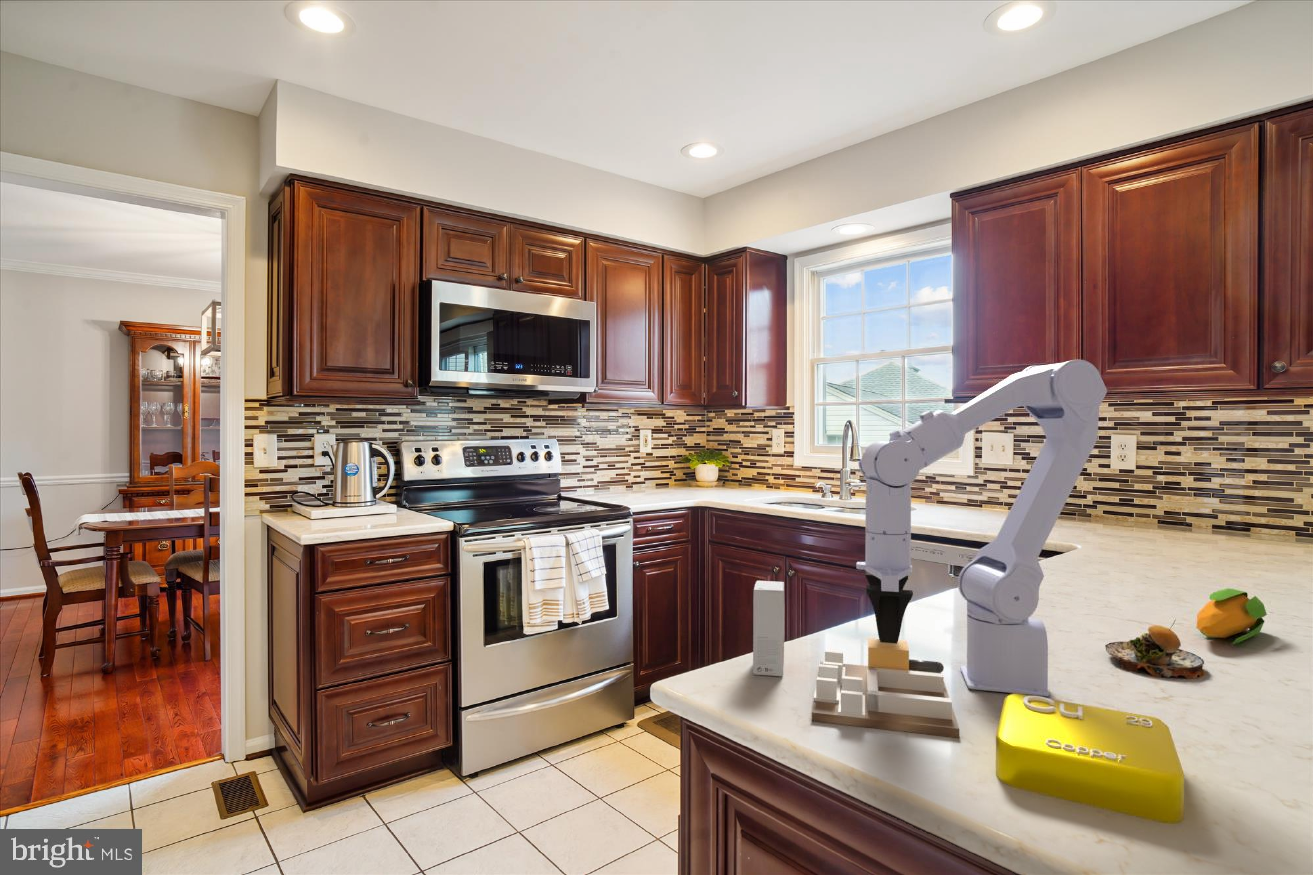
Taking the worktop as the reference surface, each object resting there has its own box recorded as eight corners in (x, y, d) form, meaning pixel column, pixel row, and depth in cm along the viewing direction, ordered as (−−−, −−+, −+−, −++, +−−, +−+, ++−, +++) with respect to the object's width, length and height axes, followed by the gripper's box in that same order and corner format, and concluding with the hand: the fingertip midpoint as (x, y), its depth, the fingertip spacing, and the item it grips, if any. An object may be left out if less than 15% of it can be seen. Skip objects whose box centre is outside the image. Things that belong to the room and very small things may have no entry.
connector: (941, 677, 91) (942, 644, 91) (945, 688, 88) (945, 653, 88) (868, 670, 94) (868, 638, 94) (868, 681, 90) (868, 647, 90)
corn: (1272, 586, 114) (1236, 605, 102) (1276, 632, 114) (1240, 657, 102) (1217, 581, 120) (1176, 598, 108) (1220, 625, 120) (1180, 647, 108)
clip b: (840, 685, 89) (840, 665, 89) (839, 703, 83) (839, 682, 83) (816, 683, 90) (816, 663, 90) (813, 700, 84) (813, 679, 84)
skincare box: (783, 677, 95) (783, 590, 94) (752, 675, 95) (752, 589, 95) (784, 662, 101) (784, 581, 100) (755, 660, 101) (755, 579, 101)
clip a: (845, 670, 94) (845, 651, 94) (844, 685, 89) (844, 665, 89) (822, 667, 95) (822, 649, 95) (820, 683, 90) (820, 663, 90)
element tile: (993, 785, 67) (993, 736, 67) (1005, 727, 80) (1005, 685, 79) (1187, 831, 59) (1188, 776, 59) (1166, 758, 72) (1166, 713, 72)
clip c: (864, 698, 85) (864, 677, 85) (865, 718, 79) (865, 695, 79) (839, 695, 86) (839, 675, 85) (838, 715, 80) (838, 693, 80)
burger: (1147, 649, 106) (1148, 601, 106) (1227, 676, 95) (1228, 622, 95) (1084, 656, 104) (1084, 606, 103) (1158, 684, 92) (1158, 629, 92)
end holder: (942, 689, 87) (942, 673, 87) (951, 719, 78) (951, 702, 78) (866, 681, 90) (866, 666, 90) (867, 710, 81) (867, 693, 81)
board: (941, 679, 93) (941, 672, 93) (959, 737, 76) (959, 728, 76) (820, 668, 98) (820, 661, 98) (811, 720, 81) (811, 712, 81)
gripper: (856, 522, 99) (856, 616, 99) (856, 538, 85) (855, 647, 86) (908, 524, 97) (908, 620, 97) (916, 541, 83) (916, 652, 84)
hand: (887, 633), depth 91 cm, fingers open, 7 cm apart
